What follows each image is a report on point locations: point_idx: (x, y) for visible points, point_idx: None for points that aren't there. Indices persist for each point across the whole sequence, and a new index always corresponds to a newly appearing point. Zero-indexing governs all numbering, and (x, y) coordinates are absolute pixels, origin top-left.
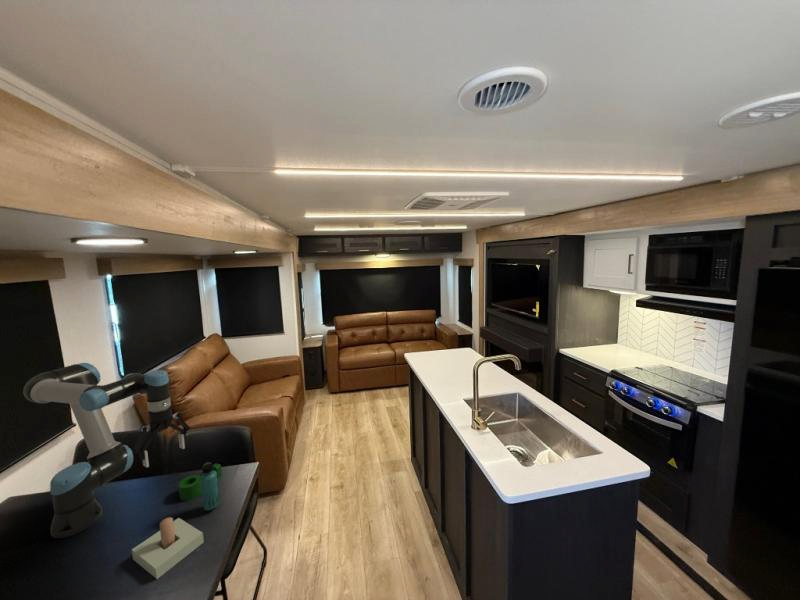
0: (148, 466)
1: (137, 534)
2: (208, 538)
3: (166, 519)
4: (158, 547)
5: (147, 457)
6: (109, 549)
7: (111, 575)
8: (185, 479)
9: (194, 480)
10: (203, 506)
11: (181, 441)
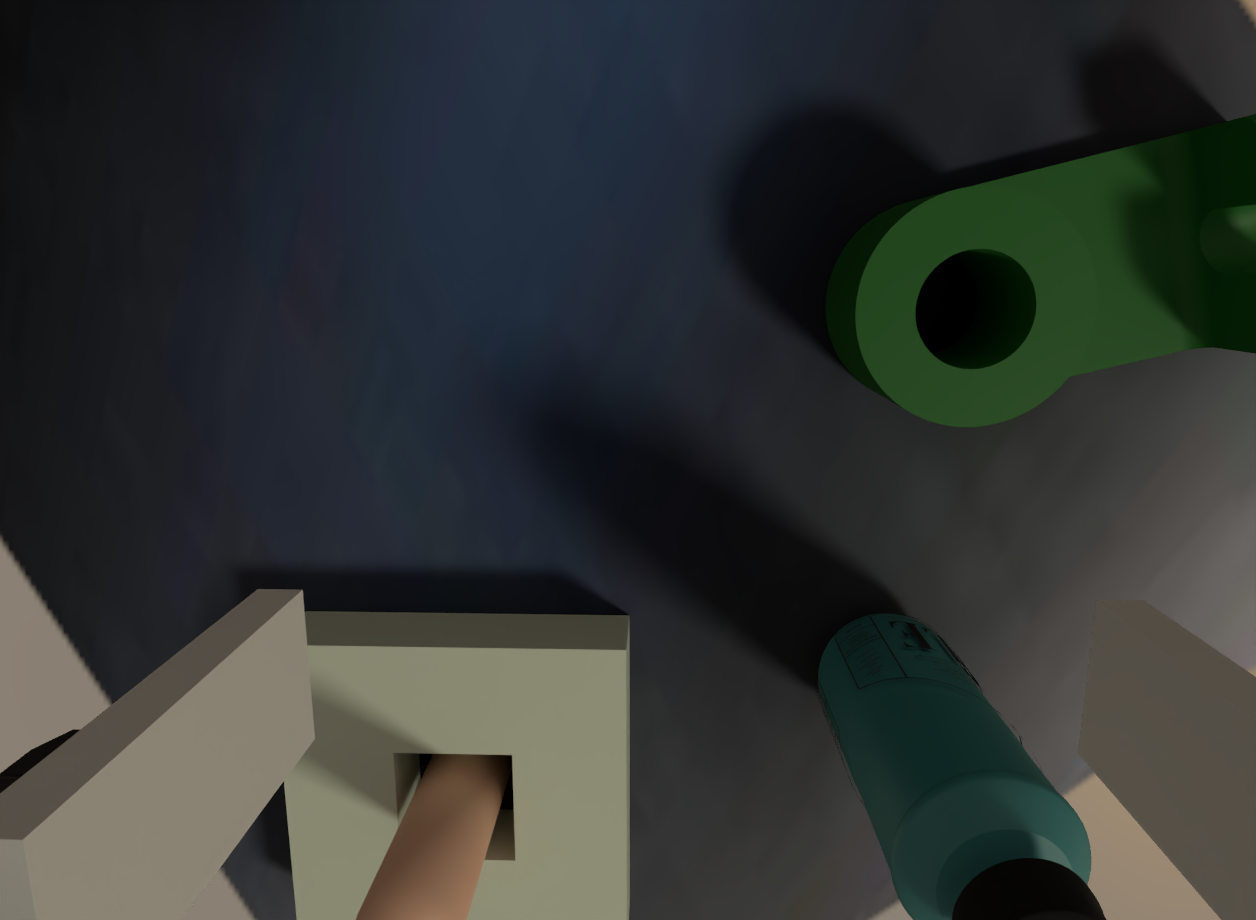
0: (303, 742)
1: (420, 388)
2: (665, 900)
3: (421, 910)
4: (388, 799)
5: (183, 901)
6: (244, 351)
7: (180, 616)
8: (972, 223)
9: (1021, 290)
10: (822, 678)
11: (1208, 849)
